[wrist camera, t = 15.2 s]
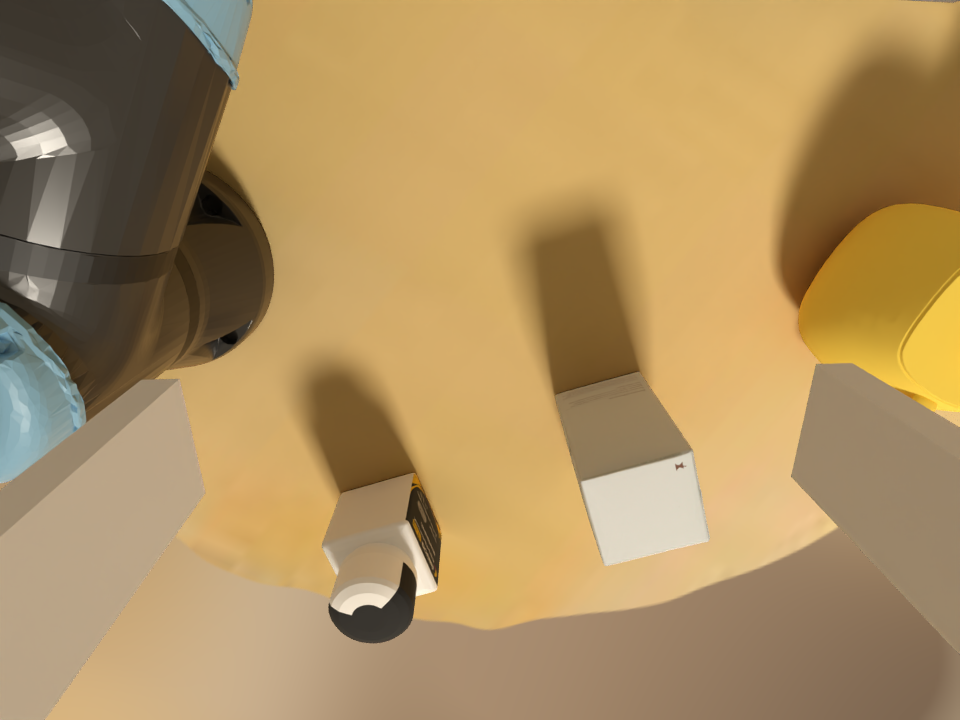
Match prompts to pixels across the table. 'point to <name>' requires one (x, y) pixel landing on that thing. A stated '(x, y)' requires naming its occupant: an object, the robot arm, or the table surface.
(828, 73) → the table surface
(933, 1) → the hole block
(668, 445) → the supplement box
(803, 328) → the teapot
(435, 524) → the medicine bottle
